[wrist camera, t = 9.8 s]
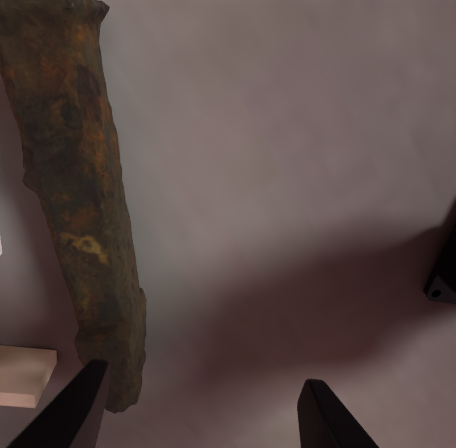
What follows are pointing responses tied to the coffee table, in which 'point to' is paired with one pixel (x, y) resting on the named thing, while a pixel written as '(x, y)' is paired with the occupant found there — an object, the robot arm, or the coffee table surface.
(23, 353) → the wooden tray
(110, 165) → the hand tool
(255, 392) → the coffee table surface
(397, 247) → the coffee table surface
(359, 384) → the coffee table surface
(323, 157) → the coffee table surface
